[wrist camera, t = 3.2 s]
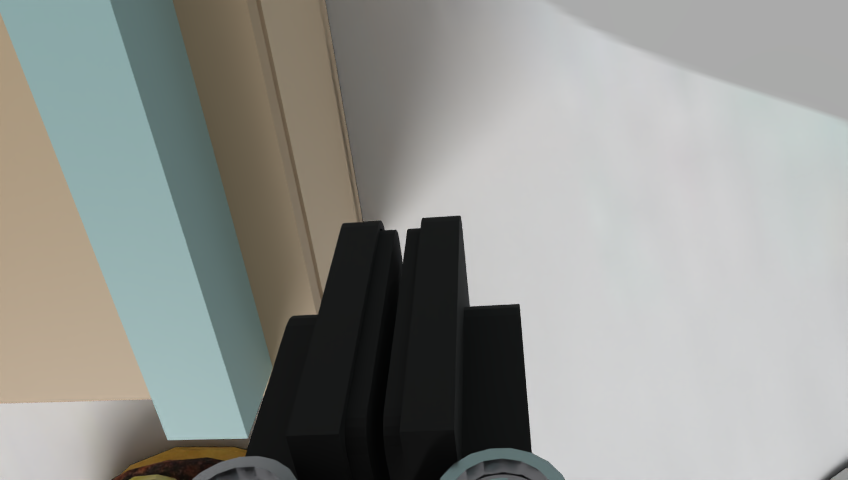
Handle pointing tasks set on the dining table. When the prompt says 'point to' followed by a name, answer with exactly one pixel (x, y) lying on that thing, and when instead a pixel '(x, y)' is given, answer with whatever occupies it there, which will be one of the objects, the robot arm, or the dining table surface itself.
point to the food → (179, 463)
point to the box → (312, 121)
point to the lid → (145, 210)
